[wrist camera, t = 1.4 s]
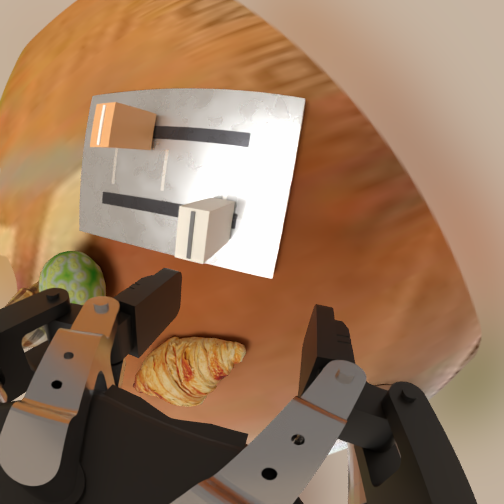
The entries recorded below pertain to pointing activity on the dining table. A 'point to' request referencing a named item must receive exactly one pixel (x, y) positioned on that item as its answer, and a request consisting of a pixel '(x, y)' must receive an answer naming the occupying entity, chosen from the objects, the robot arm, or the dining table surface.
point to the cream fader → (203, 228)
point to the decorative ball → (73, 276)
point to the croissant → (187, 369)
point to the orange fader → (122, 127)
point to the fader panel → (197, 171)
